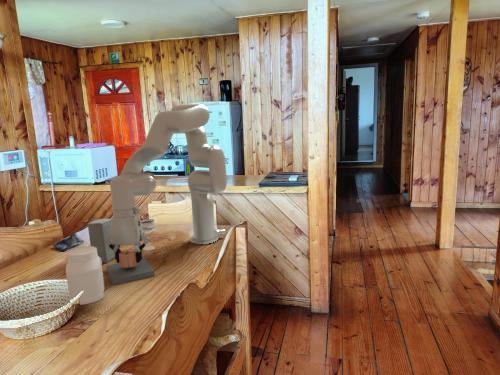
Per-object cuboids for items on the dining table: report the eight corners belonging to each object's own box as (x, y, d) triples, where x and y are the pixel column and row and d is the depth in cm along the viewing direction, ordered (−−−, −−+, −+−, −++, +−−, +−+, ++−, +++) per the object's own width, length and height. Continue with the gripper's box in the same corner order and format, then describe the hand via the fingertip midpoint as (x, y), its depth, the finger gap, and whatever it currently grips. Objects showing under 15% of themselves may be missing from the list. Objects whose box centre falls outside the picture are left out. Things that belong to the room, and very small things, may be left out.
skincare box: (107, 263, 145) (103, 223, 142) (90, 262, 147) (86, 223, 144) (119, 255, 153) (115, 217, 150) (103, 254, 155) (99, 217, 152)
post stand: (145, 262, 145) (144, 245, 143) (154, 276, 132) (153, 257, 131) (106, 270, 138) (104, 252, 137) (112, 285, 126) (110, 265, 125)
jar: (103, 301, 115) (97, 254, 112) (68, 307, 112) (62, 259, 109) (105, 285, 126) (100, 242, 123) (73, 290, 123) (68, 246, 120)
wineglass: (137, 250, 159) (134, 222, 157) (147, 244, 165) (145, 218, 163) (150, 251, 157) (148, 223, 154) (160, 246, 163) (158, 219, 160)
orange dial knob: (123, 260, 138) (122, 247, 137) (141, 260, 138) (140, 247, 137) (117, 267, 132) (115, 254, 131) (135, 267, 131) (134, 254, 131)
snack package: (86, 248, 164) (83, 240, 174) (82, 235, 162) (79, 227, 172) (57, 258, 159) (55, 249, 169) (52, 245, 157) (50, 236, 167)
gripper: (152, 209, 135) (156, 257, 138) (104, 210, 135) (109, 258, 139) (145, 215, 127) (150, 265, 131) (95, 216, 128) (100, 266, 131)
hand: (129, 261), depth 135 cm, fingers closed on orange dial knob, 6 cm apart
